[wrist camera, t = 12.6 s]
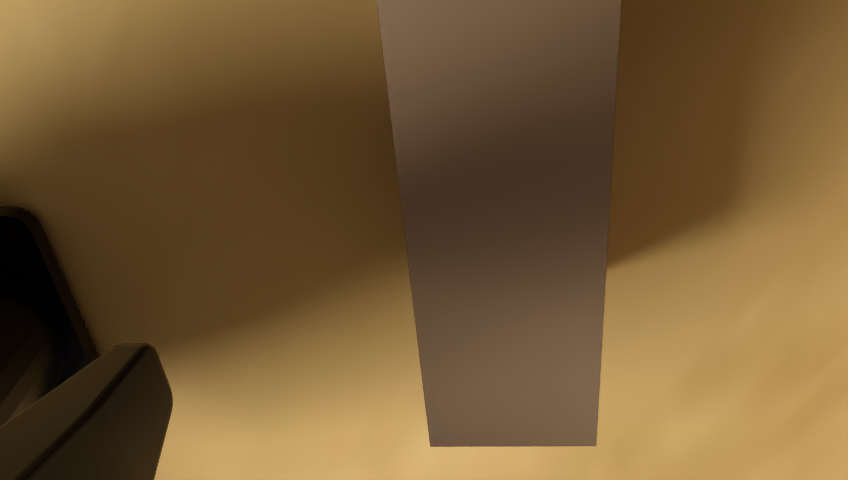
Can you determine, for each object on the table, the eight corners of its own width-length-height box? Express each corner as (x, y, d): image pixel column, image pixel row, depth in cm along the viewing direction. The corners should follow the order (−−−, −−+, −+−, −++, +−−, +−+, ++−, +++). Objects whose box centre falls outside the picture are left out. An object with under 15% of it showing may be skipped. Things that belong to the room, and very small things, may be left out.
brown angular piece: (817, 273, 17) (921, 445, 13) (222, 289, 19) (145, 447, 14) (971, -352, 11) (1266, -407, 7) (63, -253, 12) (-150, -249, 8)
